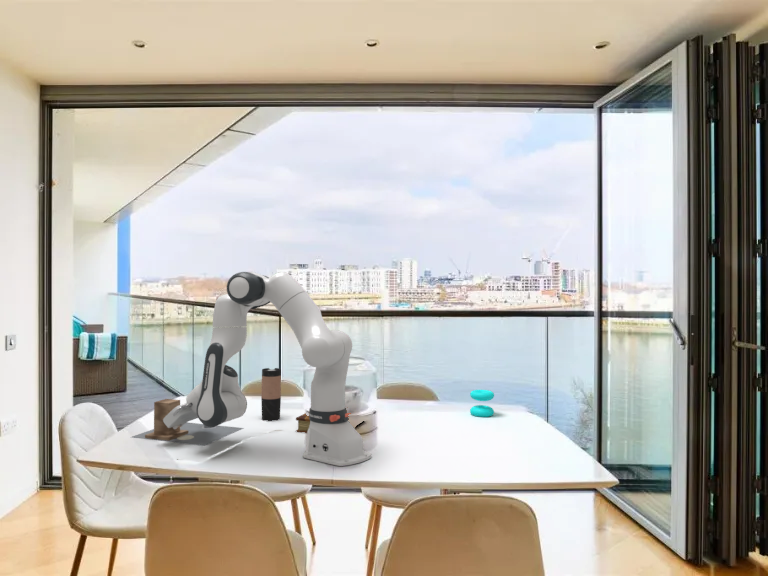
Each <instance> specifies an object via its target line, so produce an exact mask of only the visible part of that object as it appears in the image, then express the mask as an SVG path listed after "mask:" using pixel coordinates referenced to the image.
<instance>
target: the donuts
mask: <svg viewBox="0 0 768 576" xmlns="http://www.w3.org/2000/svg"><path fill="white" fill-rule="evenodd" d="M469 396H470V398H471V399H473V400H474V401H479V402H488V401H492V400H493V399H494V397H495V393H494V392H493V391H491V390H489V389H488V390H487V389H473V390H471V391H470V395H469ZM469 412H470V414H471V416H474V417H478V418H488V417H491V416H493V415H494V414H495V411H494V408H493V407H491V406H489V405H483V404H479V405H478V404H477V405H473V406H472V407H470V410H469Z"/></svg>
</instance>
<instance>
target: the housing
mask: <svg viewBox="0 0 768 576" xmlns="http://www.w3.org/2000/svg"><path fill="white" fill-rule="evenodd" d="M153 405H154V406H153V429H154V432H152V433H149V434H146V435H145V438H150V439H159V440H168V441H170V440H172V439H175V438H177V437H180V436H183V435H185V434H188V430H180V428H178V429H173V427H171V428H168V427H167V426H166V425H165V423H164V422H163V419H164V418H165V416H167V415H168V414H169V413H170V412H171V411H172V410H173V409H174V408H175V407H177V406H179V405H181V399H171V398H163V399H161V400H157V401H154V402H153Z"/></svg>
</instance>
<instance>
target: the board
mask: <svg viewBox="0 0 768 576" xmlns="http://www.w3.org/2000/svg"><path fill="white" fill-rule="evenodd" d="M244 429H245V427H235V426H226V425H217V426H215V427H214V428H204V424H203V423H196V422H189V421H188V422H187V423H185V424H184V425H182V427H180V430H188V434H185V435H183V436H180V437H177V438H175V439H172V440H170V441H168V440H159V439H150V438H145V435H146V434H149V433H152V432H154V428H153V429H150V430H147V431H144V432H141V433H138V434H135V435H133V436H131V439H132V438H133V439H141V440H150V441H158V442H160V441H162V442H169V443H175V444H176V443H177V444H185V445H186V444H187V445H194V446H202V447H203V446H204V447H205V446H208V445H210V444H212V443H214V442H216V441H219V440H221V439H224V438H225V437H228V436H230V435H232V434H235V433H236V432H239V431H241V430H244Z"/></svg>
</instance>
